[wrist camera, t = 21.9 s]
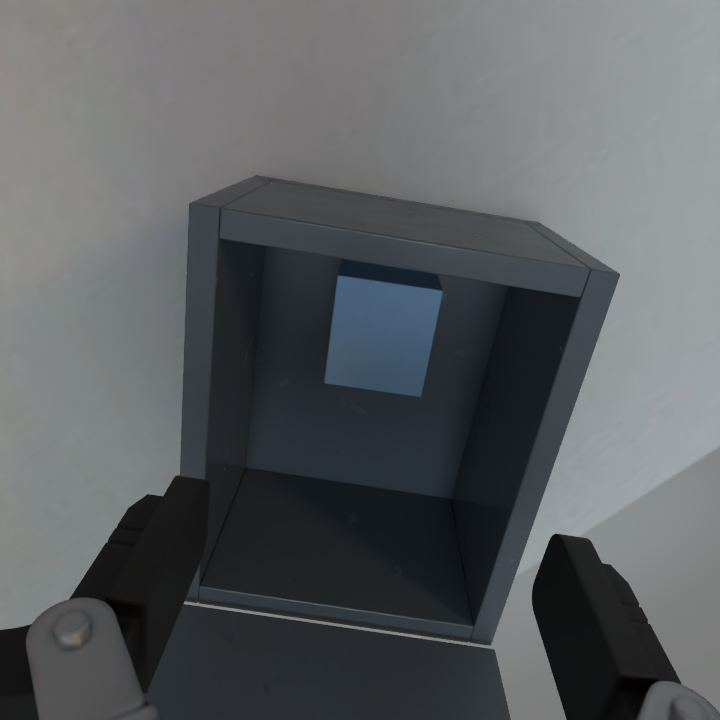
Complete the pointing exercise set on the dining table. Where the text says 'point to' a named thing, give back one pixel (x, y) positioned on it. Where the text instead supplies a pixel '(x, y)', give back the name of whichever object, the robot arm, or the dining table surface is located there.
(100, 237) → the dining table surface
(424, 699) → the grey box lid
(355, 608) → the grey storage box
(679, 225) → the dining table surface
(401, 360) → the block
